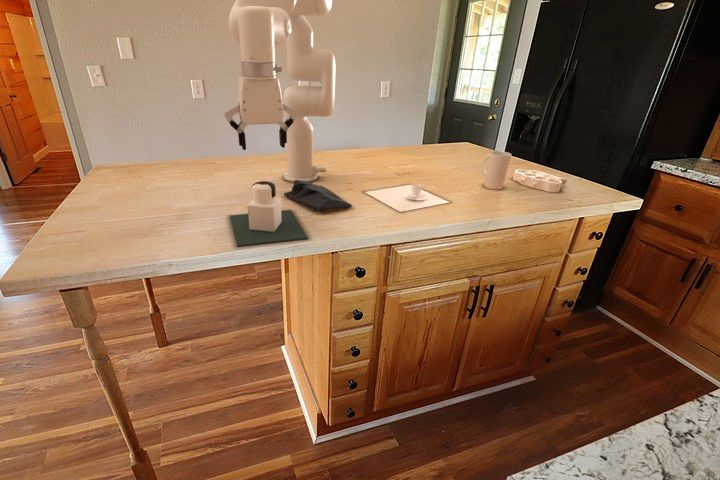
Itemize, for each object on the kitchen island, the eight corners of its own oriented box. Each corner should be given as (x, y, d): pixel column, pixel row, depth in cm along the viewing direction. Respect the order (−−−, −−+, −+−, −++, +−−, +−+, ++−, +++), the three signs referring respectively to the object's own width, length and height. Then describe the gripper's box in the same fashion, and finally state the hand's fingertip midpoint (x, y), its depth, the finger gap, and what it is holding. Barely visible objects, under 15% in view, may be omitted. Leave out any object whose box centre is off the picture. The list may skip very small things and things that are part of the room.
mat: (290, 211, 118) (290, 209, 118) (307, 238, 101) (307, 237, 101) (230, 216, 113) (229, 215, 113) (237, 246, 97) (237, 245, 96)
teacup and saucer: (411, 203, 125) (413, 191, 123) (396, 195, 131) (397, 183, 129) (432, 199, 129) (434, 187, 127) (416, 192, 135) (418, 180, 133)
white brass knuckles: (573, 189, 141) (546, 194, 135) (530, 175, 155) (504, 180, 149) (576, 179, 140) (549, 185, 134) (532, 167, 154) (506, 171, 148)
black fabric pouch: (312, 217, 114) (312, 201, 111) (281, 194, 130) (280, 180, 128) (356, 208, 120) (357, 193, 118) (321, 188, 137) (321, 174, 135)
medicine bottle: (257, 219, 110) (254, 178, 105) (282, 222, 109) (280, 180, 103) (248, 230, 104) (245, 186, 98) (274, 232, 103) (272, 188, 97)
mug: (507, 188, 140) (516, 154, 134) (493, 190, 138) (502, 156, 132) (485, 180, 148) (493, 148, 142) (472, 182, 146) (479, 150, 140)
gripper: (292, 69, 94) (293, 142, 103) (218, 70, 90) (226, 145, 99) (299, 72, 88) (300, 149, 97) (221, 73, 84) (229, 153, 92)
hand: (263, 147), depth 98 cm, fingers open, 9 cm apart
